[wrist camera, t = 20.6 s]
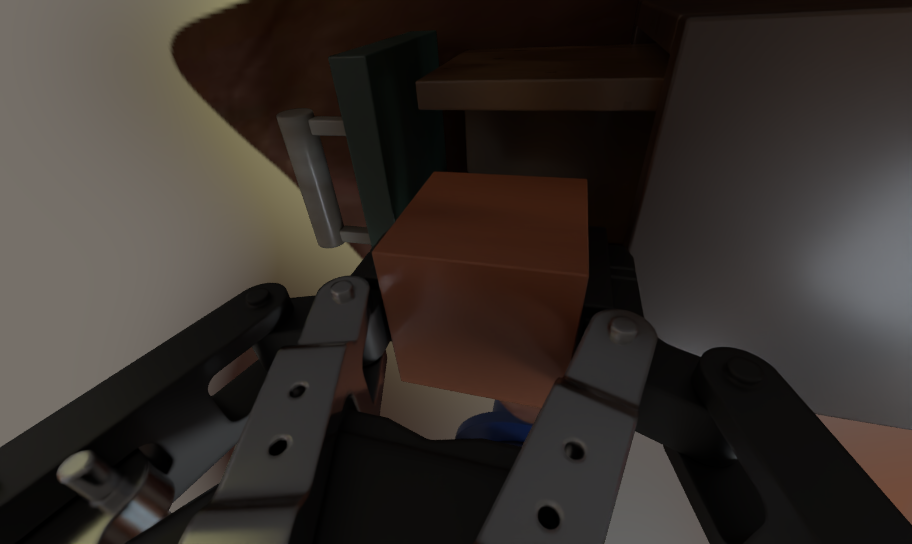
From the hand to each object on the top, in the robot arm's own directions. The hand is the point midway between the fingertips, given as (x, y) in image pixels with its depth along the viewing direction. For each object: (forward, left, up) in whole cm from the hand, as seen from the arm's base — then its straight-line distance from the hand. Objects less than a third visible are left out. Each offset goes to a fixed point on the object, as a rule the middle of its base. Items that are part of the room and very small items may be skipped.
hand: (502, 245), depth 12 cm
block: (0, 0, 0) cm, 0 cm away
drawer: (0, +1, -8) cm, 8 cm away
